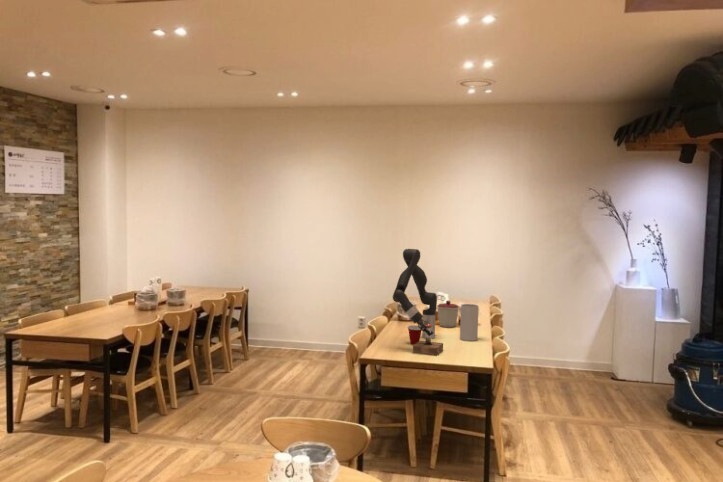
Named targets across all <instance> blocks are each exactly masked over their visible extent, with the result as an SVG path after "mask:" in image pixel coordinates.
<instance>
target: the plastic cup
mask: <svg viewBox="0 0 723 482" xmlns="http://www.w3.org/2000/svg"><path fill="white" fill-rule="evenodd" d="M407 329H408V335H409V342H410V344H411V345H414V344H416V343H417V342H419V341H421V340H420V339H421V336H422V335H421V334H422V330H421V329H420V328H419V327H418V324H417V325H416V324H413V325H412V324H411V325H407Z"/></svg>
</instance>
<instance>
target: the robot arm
mask: <svg viewBox="0 0 723 482" xmlns="http://www.w3.org/2000/svg"><path fill="white" fill-rule="evenodd" d="M402 257H403V258H402V259H403V261H404V262H405V264H406V266H407V267H406V268H405V269H404V270H403V271H402V272H401V274H400V275H399V278H398V279H397V280H398V281H397V283H396V287H395V289H394V292H393V294H392V300H393V301H394V302H395V303H399V304H400V306H401V309H402V310H403V312H404V313H405V314H406V315H407V317H408V318H409V319H410V320H411V321H412V323H414V324H417V326H418V327H419V328H420V329H421V330H422V331H421V334H422V335H421V337H422V338H423V339H426V333H427V334H428V336H431V340H432V339H435V337H436V313H437V305H438V296H437V294H436V293H435V292H429V291H427V290H426V285H427V283H428V277H427V275H426V273H425V271H424V269H422V268H421V267H420V266H419V265H418V263H419V262H420V259H421V251H420V250H419V249H418V248H417V249H415V248H405V249H404V250H403V252H402ZM411 277H412V280H413V282H414V284H415V286H416V289H417V291H418V295H419V299H420V302H421V303H422V304H423V305H425V306H428V307H427V308H425V309H423V311H422V313H421V312H420V311H419V310H418V309H417V308H416V307H415V305H414V304H413V303H412V302H411V301H410V300H409V298H408V296H407V294H406V293H405V292H406V290H407V288H408V285H409V282H410V279H411ZM425 324H432V327H431V333H430V331H429V330H428V329H427V328H426V325H425Z"/></svg>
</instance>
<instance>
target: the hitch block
mask: <svg viewBox="0 0 723 482" xmlns="http://www.w3.org/2000/svg"><path fill="white" fill-rule="evenodd" d="M443 351H444V343H443V342H437V341H431V345H426V340H419V342H417V343H416V344H412V353H413V354H418V355H419V354H420V355H428V356H435V357H438V356H439V354H441V353H442V352H443Z"/></svg>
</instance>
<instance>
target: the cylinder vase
mask: <svg viewBox="0 0 723 482" xmlns="http://www.w3.org/2000/svg"><path fill="white" fill-rule="evenodd" d="M459 323H460V324H459V325H460V326H459V327H460V328H459V339H460V340H461V341H465V342H475V341H478V331H479V305H478V304H471V303H463V304H461V305H460V322H459Z"/></svg>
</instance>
